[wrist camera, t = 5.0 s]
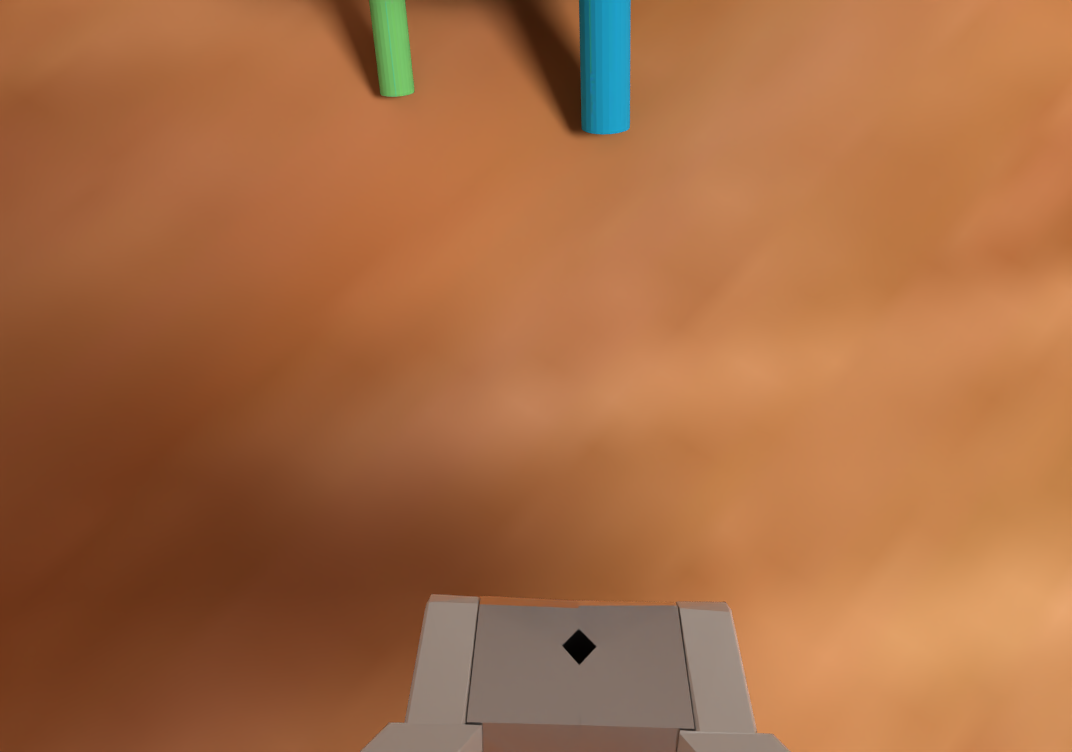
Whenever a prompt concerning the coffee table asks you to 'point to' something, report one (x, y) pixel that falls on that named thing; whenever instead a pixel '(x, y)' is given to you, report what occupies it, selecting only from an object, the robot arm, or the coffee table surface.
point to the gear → (599, 59)
